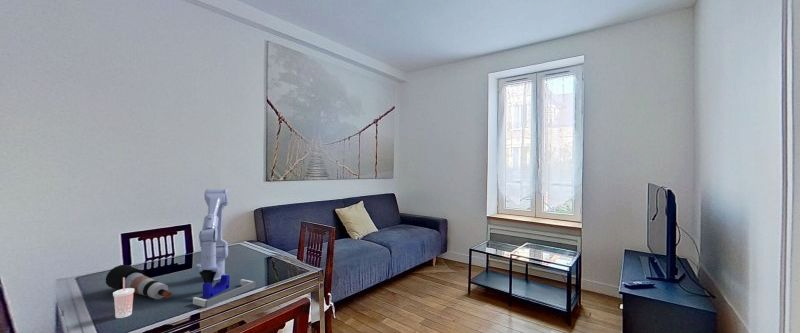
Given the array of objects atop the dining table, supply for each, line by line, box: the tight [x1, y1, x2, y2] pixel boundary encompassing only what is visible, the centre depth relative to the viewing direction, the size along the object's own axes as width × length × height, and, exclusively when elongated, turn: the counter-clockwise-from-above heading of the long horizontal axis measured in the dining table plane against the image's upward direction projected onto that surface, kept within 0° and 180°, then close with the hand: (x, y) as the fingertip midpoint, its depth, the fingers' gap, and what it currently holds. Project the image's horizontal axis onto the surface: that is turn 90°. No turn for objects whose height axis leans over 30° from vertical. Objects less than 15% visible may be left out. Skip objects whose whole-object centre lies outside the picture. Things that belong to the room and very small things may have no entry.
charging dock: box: [192, 279, 257, 309], centre depth 135 cm, size 8×23×2 cm, turn 156°
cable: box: [105, 264, 172, 300], centre depth 136 cm, size 10×34×10 cm, turn 66°
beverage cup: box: [112, 277, 134, 319], centre depth 117 cm, size 6×6×14 cm
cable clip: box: [202, 273, 230, 299], centre depth 138 cm, size 12×4×6 cm, turn 170°
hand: (208, 286), depth 139 cm, fingers closed
